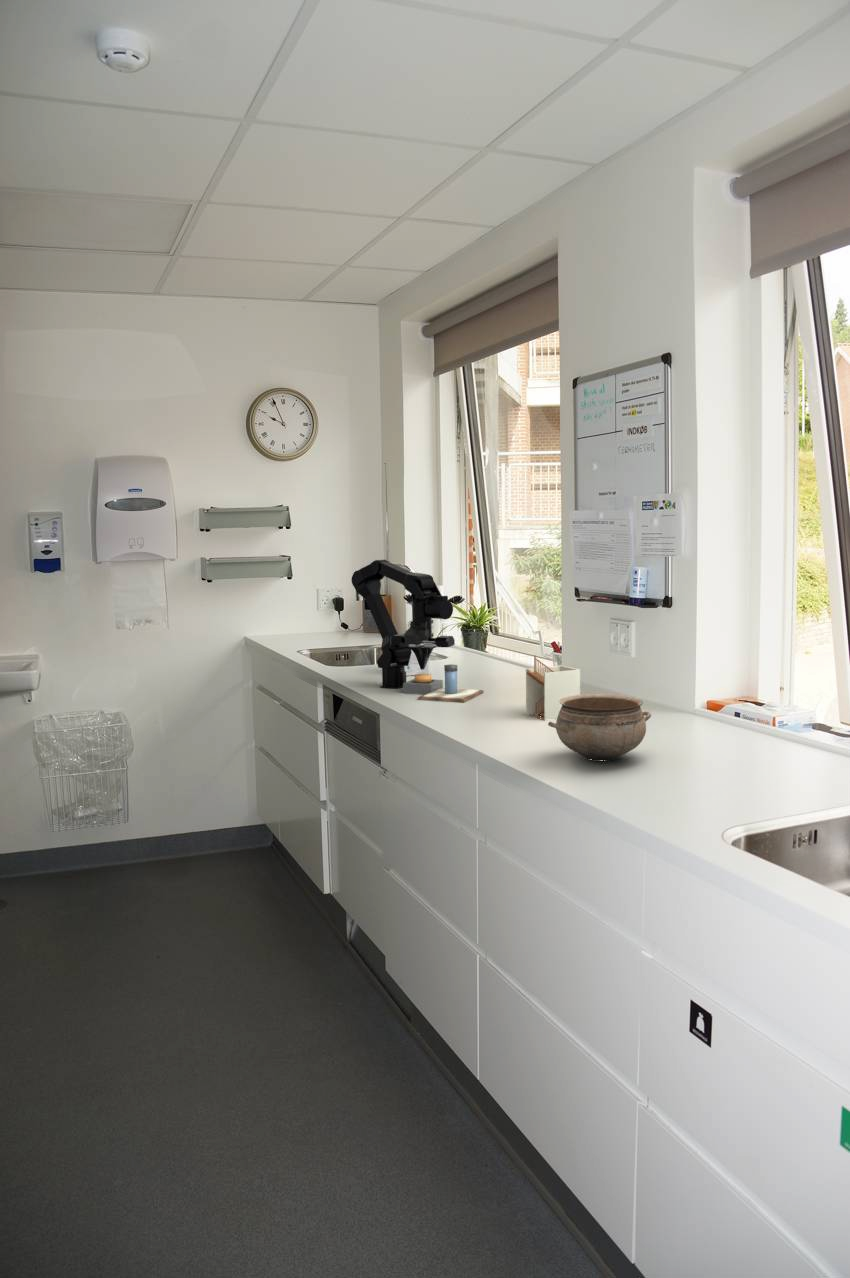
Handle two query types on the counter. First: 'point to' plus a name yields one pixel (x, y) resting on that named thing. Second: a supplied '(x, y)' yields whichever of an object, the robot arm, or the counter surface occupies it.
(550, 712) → the model staircase
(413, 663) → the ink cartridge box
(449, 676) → the blue tumbler
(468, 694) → the board
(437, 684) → the button housing
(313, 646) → the counter surface
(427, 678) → the button
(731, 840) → the counter surface
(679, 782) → the counter surface
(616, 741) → the cooking pot
